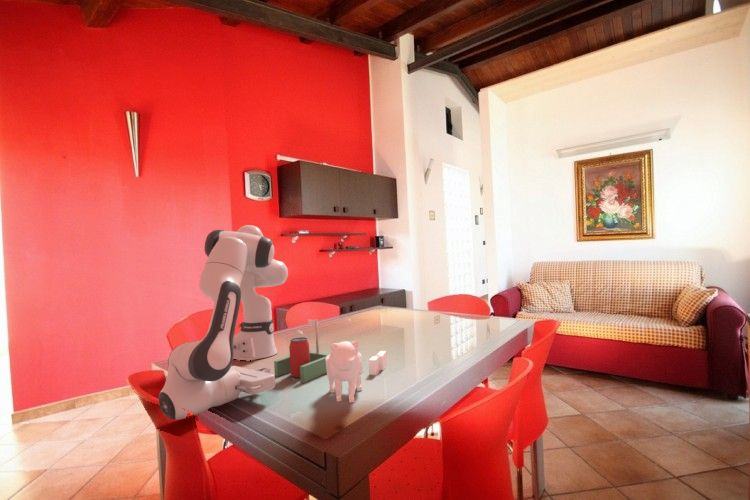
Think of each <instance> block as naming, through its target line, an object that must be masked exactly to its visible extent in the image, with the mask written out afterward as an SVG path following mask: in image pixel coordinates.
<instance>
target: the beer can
mask: <svg viewBox="0 0 750 500" xmlns="http://www.w3.org/2000/svg"><path fill="white" fill-rule="evenodd" d="M309 351H310V343H309V341H308V338H307V337H304V336H303V337H302V336H301V337H294V338H291V339H290V343H289V356H290V372H289V374H290V375H291V377H293V378H301V377H300V366H302V365H305V364H307V363H310V353H309Z"/></svg>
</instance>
